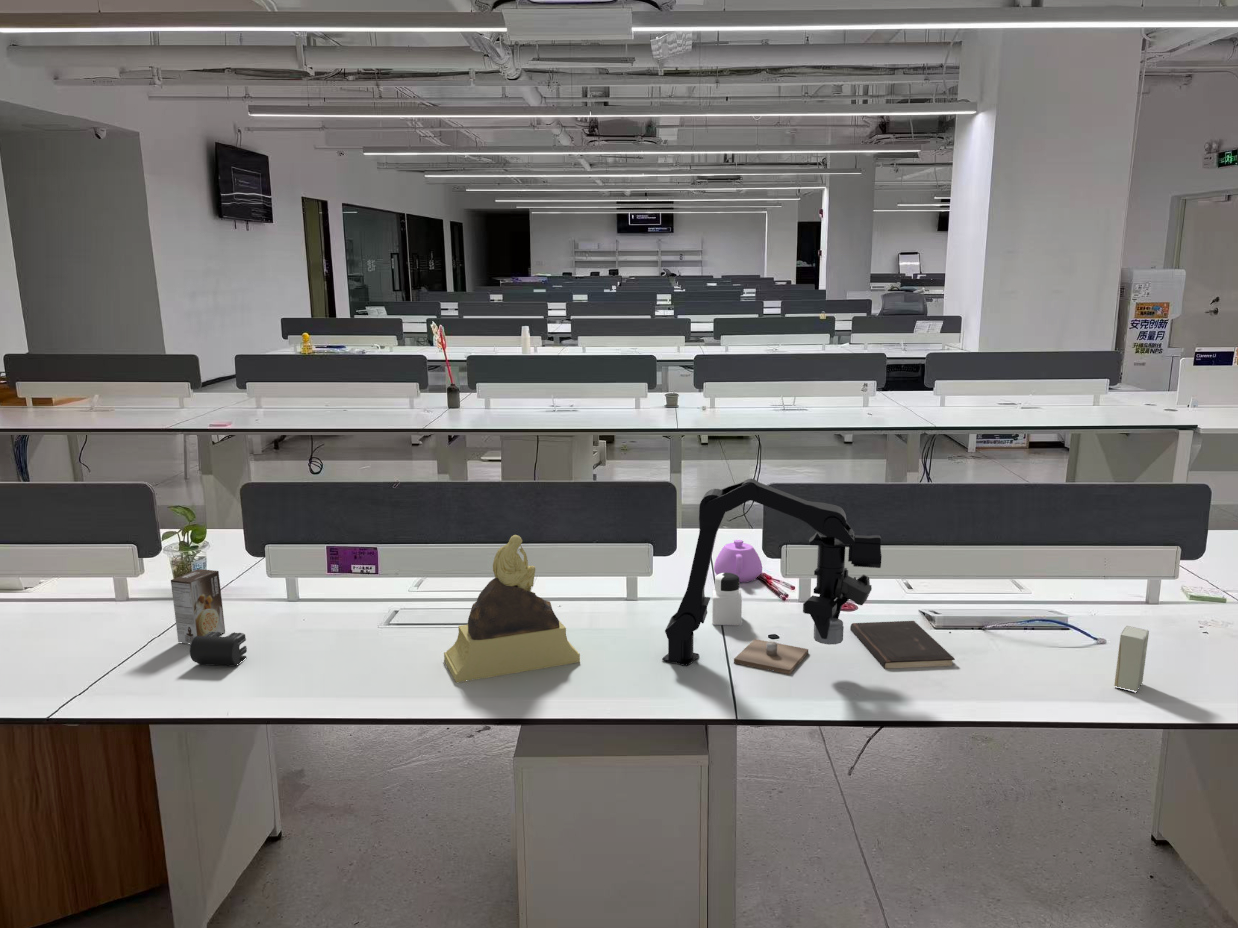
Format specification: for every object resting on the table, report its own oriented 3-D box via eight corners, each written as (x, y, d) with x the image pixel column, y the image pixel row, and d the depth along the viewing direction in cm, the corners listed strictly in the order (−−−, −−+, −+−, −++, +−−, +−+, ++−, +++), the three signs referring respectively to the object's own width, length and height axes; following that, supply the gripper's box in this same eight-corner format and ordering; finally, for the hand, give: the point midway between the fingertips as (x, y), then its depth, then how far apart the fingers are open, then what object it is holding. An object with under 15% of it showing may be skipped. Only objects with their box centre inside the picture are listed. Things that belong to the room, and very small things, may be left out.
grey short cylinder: (838, 646, 197) (838, 628, 196) (810, 641, 200) (811, 623, 199) (845, 636, 202) (846, 619, 202) (818, 631, 205) (819, 614, 204)
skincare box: (1120, 678, 198) (1126, 624, 195) (1143, 684, 195) (1149, 629, 192) (1113, 688, 193) (1119, 633, 190) (1137, 694, 190) (1143, 638, 188)
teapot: (760, 565, 277) (761, 530, 275) (763, 587, 258) (764, 550, 255) (714, 564, 279) (714, 529, 276) (713, 585, 259) (714, 549, 257)
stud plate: (789, 674, 201) (790, 659, 200) (733, 662, 207) (734, 648, 207) (808, 653, 212) (808, 638, 211) (754, 642, 218) (755, 628, 218)
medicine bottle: (740, 615, 236) (741, 570, 234) (741, 625, 229) (742, 579, 227) (712, 614, 237) (712, 570, 234) (712, 625, 230) (712, 579, 227)
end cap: (191, 669, 207) (187, 640, 205) (208, 656, 214) (205, 628, 212) (233, 671, 206) (230, 642, 204) (249, 658, 212) (246, 630, 211)
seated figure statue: (562, 642, 220) (559, 520, 214) (579, 662, 209) (577, 534, 203) (444, 660, 210) (438, 533, 204) (456, 683, 199) (449, 549, 193)
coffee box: (205, 629, 230) (198, 567, 227) (226, 632, 228) (220, 570, 225) (177, 643, 221) (169, 579, 218) (198, 646, 219) (191, 582, 216)
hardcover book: (913, 629, 227) (914, 620, 227) (954, 668, 205) (954, 658, 204) (849, 631, 226) (850, 623, 226) (883, 671, 204) (884, 661, 203)
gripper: (856, 583, 186) (853, 655, 189) (879, 558, 202) (876, 625, 205) (803, 575, 191) (801, 645, 194) (829, 551, 207) (827, 617, 210)
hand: (828, 633), depth 201 cm, fingers closed on grey short cylinder, 6 cm apart
